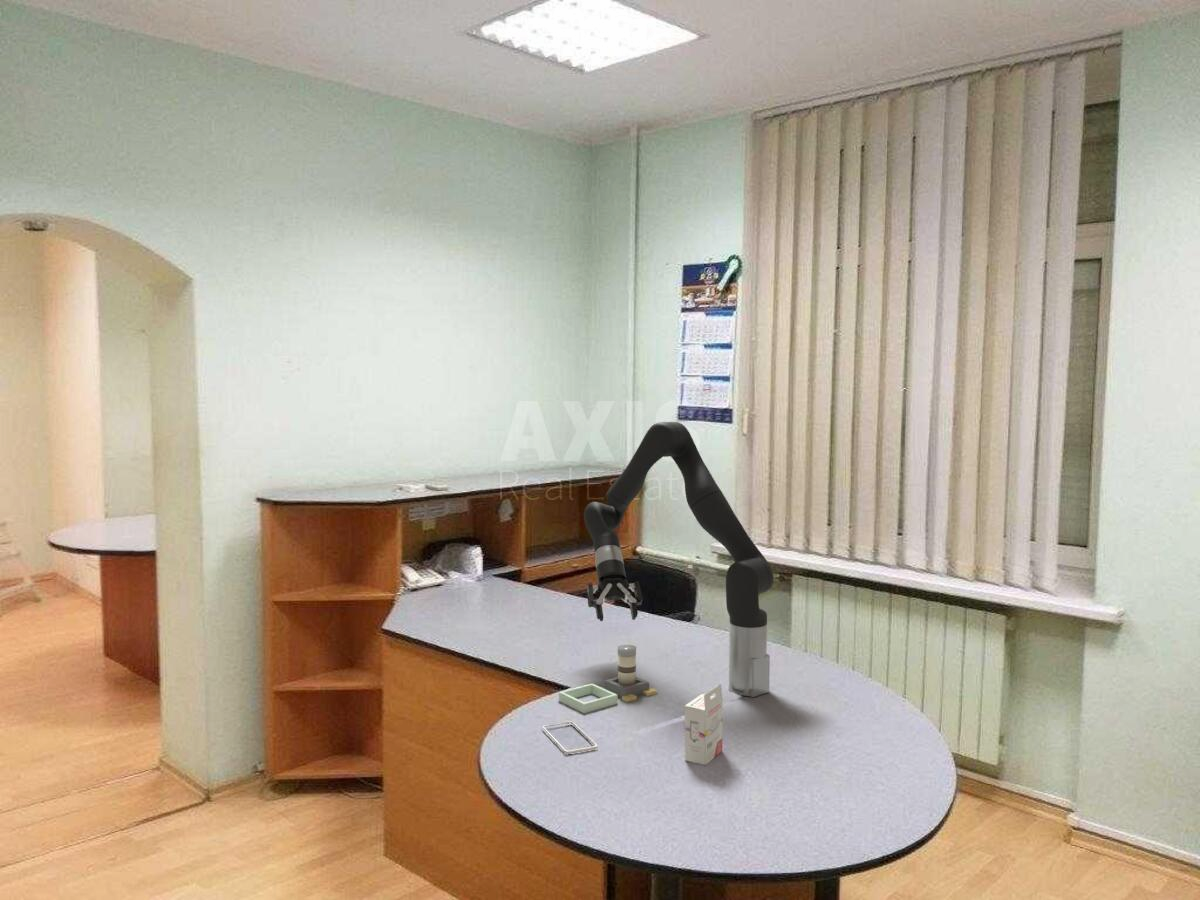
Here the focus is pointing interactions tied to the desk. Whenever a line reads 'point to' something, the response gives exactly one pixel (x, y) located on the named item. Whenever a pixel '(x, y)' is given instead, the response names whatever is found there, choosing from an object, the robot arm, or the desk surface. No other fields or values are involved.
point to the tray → (584, 707)
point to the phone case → (575, 749)
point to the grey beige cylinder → (626, 665)
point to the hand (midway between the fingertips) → (618, 619)
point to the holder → (629, 689)
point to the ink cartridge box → (704, 727)
